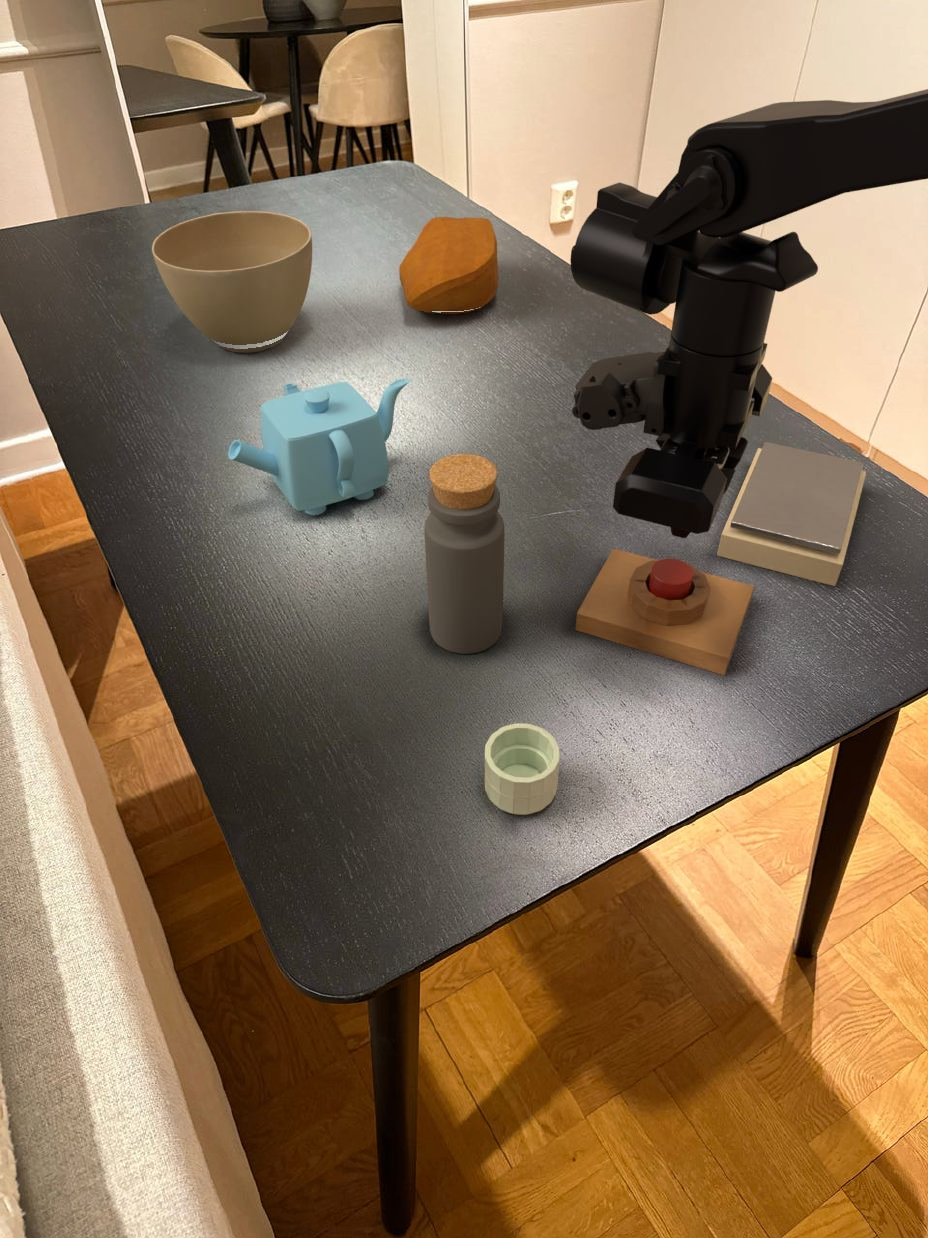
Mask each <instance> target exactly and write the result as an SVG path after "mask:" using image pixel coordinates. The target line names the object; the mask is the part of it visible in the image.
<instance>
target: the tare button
mask: <svg viewBox="0 0 928 1238" xmlns="http://www.w3.org/2000/svg"><path fill="white" fill-rule="evenodd" d="M658 560H659V561H657V562H655V563H654V565H653V566H652V569H651V575H650V581H649V589H650V591H651V592H652V594H654V595H655V596H656V597H659V598H663V599H666V600H682V599H684V598H685V597H687V596H688V594H689V593H690V589H691V584H692V579H693V570H692V568H691V567H690V566H689V565H690V564H689V563H687V562H685V561H684V560H681V559H677V558H671V557H670V558H669V557H668V558H662V559H658ZM688 564H689V565H688Z"/></svg>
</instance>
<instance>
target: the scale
mask: <svg viewBox="0 0 928 1238" xmlns="http://www.w3.org/2000/svg"><path fill="white" fill-rule="evenodd" d="M761 450H762V448H760V447H758V448H757V450H756V452H755V455H754V457H753V460H752V462H751V464H750V467H749V469H748V470H747V474H746V476H745V478H744V481H743V483H742V485H741V487H740V489H739V493H738V495H737V497H736V499H735V501H734V503H733V507H732V508H731V511H730V514H729V516H728V518H727V520H726V523H725V525H724V528H723V529H722V532H721V534H720V535H721V536H720V539H719V544H718V548H717V551H716V552H717V553H716V556H717V557H720V558H724V559H727V560H732V561H734V562H735V561H736V562H740V563H743V564H747V565H751V566H754V567H759V568H762V569H765V570H766V569H767V570H771V571H773V572H778V573H782V574H785V575H789V576H793V577H796V578H801V579H804V580H809V581H813V582H816V583H820V584H824V585H828V586H832V587H836V585H837V582H838V580H839V577H840V575H841V571H842V569H843V566H844V563H845V558H846V553H847V551H848V547H849V543H850V540H851V538H852V534H853V530H854V525H855V523H856V517H857V515H858V510H859V503H860V499H861V495H862V492H863V487H864V483H865V479H866V476H867V471H865V470H862V472H861V475H860V479H859V483H858V487H857V491H856V495H855V498H854V502H853V506H852V510H851V514H850V517H849V521H848V525H847V529H846V533H845V537H844V540H843V544H842V548H841V551H840V554H835V553H831V552H827V551H823V550H819V549H815V548H811V547H807V546H803V545H799V544H795V543H791V542H787V541H783V540H779V539H775V538H771V537H767V536H763V535H759V534H755V533H751V532H747V531H743V530H739V529H735V528H731V527H730V525H731V522H732V519H733V517H734V514H735V512H736V510H737V507H738V505H739V502H740V500H741V498H742V495H743V493H744V491H745V488H746V486H747V483H748V481H749V479H750V476H751V474H752V471H753V469H754V467H755V464H756V462H757V460H758V457H759V455H760V452H761Z"/></svg>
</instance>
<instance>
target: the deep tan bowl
mask: <svg viewBox="0 0 928 1238" xmlns="http://www.w3.org/2000/svg"><path fill="white" fill-rule="evenodd" d="M312 235H313V234H312V231H311V229H310V227H309V226H308V225H307V224H306V223H305V222H303V220H300V219H298V218H296V217H293V216H291V215H290V216H289V215H287V214H283V213H278V212H271V211H259V210H257V211H256V210H255V211H254V210H239V211H227V212H225V211H224V212H219V213H212V214H206V215H202V216H199V217H195V218H192V219H188V220H185V221H182V222H179V223H177V224H175V225H173V226H171V227H169V228H167V229H166V230H164V231H163V232H162V233H160V234H159V235H157V237H156V238H155V239H154V240H153V242H152V245H151V253H152V256H153V259H154V262H155V265H156V267H157V270H158V272H159V275H160V277H161V279H162V281H163V283H164V285H165V287H166V289H167V291H168V293H169V294H170V296H171V298H172V299H173V301H174V302H175V304H176V306H177V307H178V308H179V309H180V311H181V312H182V313H183V315H184V316H185V317H186V318H187V320H188V321H189V322H190V323H191V324H192V325H193V326H194V327H195V328H196V329H197V330H198V331H200V333H201V334H203V335H204V336H205V337H206V336H207V337H206V338H208V339H209V338H210V339H212V340H214V341H216V342H220V343H225V344H232V345H247V344H257V343H263V342H265V341H269V340H272V339H275V338H277V337H279V336H281V335H283V334H284V333H286V332H287V331H288V330H289V329H290V328H292V327H293V325H294V324H295V322H296V321H297V319H298V317H299V315H300V312H301V311H302V308H303V306H304V303H305V299H306V297H307V294H308V289H309V285H310V280H311V273H312V266H313V265H312V264H313V237H312ZM290 330H291V329H290ZM290 330H289V331H290ZM287 335H288V333H287V334H286V335H285V336H284V337H283V338H282V339H280V340H278V341H276V342H274V343H272V344H269V345H265V346H262V347H256V348H248V349H234V348H227V347H223V346H222V347H221V348H222V349H223V350H225V351H228V352H233V353H241V354H243V353H245V354H248V353H257V352H261V351H265V350H268V349H271V348H273V347H276V346H277V345H279V344H280V343H281V342H283V340H284V339H285V338H286V336H287ZM210 339H209V340H210Z"/></svg>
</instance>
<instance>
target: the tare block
mask: <svg viewBox="0 0 928 1238" xmlns="http://www.w3.org/2000/svg"><path fill="white" fill-rule="evenodd" d="M659 560H660V559H656V558H655V559H654V558H651V557H648V556H643V555H639V554H635V553H632V552H630V551H629V552H628V551H625V550H621V549H619V548H618V549H617V548H612V549H611V551H610V553H609V555H608V556H607V558H606V560H605V562H604V564H603V565H602V567H601V569H600V571H599V573H598V575H597V576H596V577H595V580H594V582H593V584H592V585H591V587H590V589H589V590H588V592H587V594H586V595H585V598H584V599H583V602H582V603H581V605H580V606H579V609H578V610H577V612H576V619H575V629H574V630H575V631H577V632H580V633H583V634H587V635H589V636H590V635H591V636H593V637H597V638H599V639H604V640H606V641H609V642H613V643H616V644H619V645H622V646H626V647H630V648H632V649H636V650H640V651H643V652H646V653H650V654H653V655H656V656H659V657H662V658H665V659H669V660H673V661H675V662H679V663H682V664H686V665H689V666H692V667H695V668H699V669H701V670H705V671H709V672H712V673H716V674H719V675H722V676H725V675H726V673H727V670H728V668H729V664H730V661H731V659H732V657H733V653H734V651H735V648H736V644H737V642H738V639H739V636H740V633H741V630H742V628H743V625H744V622H745V620H746V616H747V613H748V611H749V608H750V605H751V601H752V598H753V594H754V591H755V588H756V587H755V585H752V584H748V583H744V582H740V581H736V580H733V579H729V578H727V577H726V578H725V577H722V576H719V575H716V574H715V575H714V574H711V573H707V572H703V571H700V570H698V569H697V568H696V567H694V566H693V565H692V564H689V563H687V564H688V565H689V566H690V567H691V568H692V570H693V579H692V584H691V589H690V593H689V594H688V596H687V597H685V598H684V599H682V600H666V599H663V598H659V597H656V596H655V595H654V594H652V592H651V591H650V589H649V581H650V575H651V569H652V566H653V565H654V563H655V562H657V561H659Z"/></svg>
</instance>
